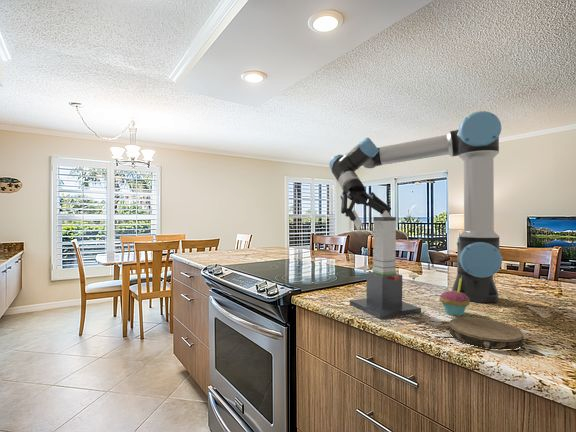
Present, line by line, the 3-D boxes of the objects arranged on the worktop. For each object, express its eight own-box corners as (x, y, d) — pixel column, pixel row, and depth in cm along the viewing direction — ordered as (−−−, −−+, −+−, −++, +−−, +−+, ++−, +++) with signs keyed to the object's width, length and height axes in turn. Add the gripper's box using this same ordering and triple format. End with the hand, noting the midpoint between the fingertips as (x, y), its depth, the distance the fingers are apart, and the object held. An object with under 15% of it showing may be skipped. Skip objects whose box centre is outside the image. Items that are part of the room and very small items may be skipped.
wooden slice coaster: (533, 342, 79) (534, 330, 79) (506, 358, 70) (506, 345, 70) (467, 324, 92) (467, 313, 92) (437, 336, 83) (437, 324, 83)
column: (385, 282, 109) (385, 217, 109) (395, 285, 104) (396, 217, 104) (372, 283, 107) (373, 216, 107) (383, 286, 102) (383, 217, 102)
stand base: (387, 300, 116) (387, 268, 116) (421, 312, 101) (421, 276, 101) (349, 304, 110) (349, 271, 110) (380, 318, 95) (380, 280, 95)
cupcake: (462, 310, 104) (463, 273, 104) (475, 318, 96) (475, 278, 96) (435, 309, 105) (435, 272, 105) (445, 317, 97) (445, 278, 97)
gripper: (373, 193, 129) (400, 233, 116) (319, 191, 120) (341, 234, 106) (382, 179, 124) (411, 218, 111) (326, 176, 115) (350, 219, 101)
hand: (376, 226), depth 108 cm, fingers open, 13 cm apart
